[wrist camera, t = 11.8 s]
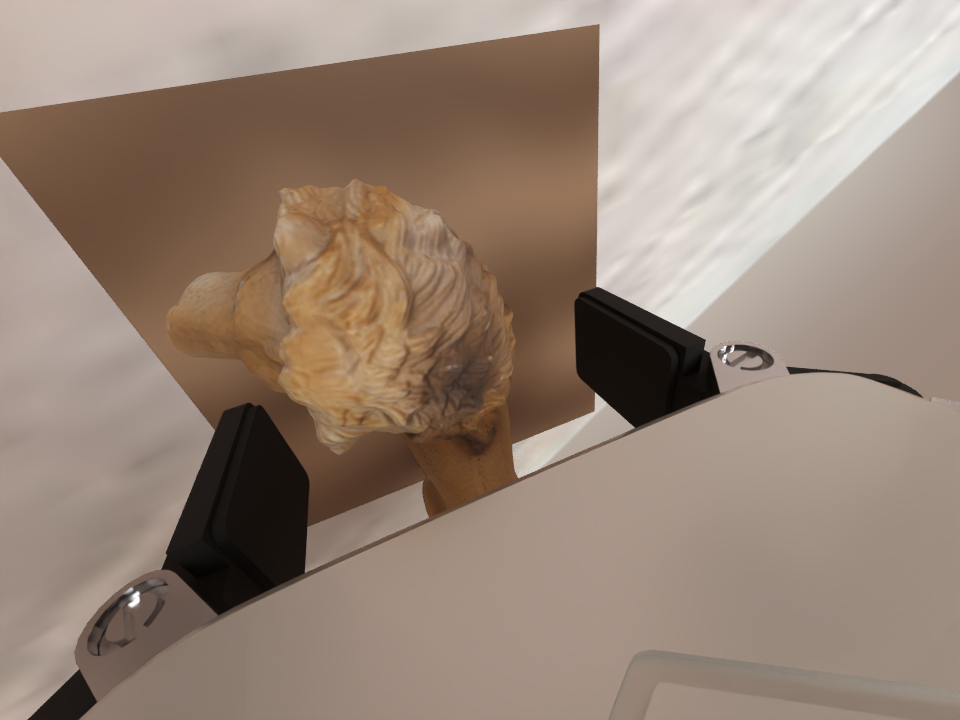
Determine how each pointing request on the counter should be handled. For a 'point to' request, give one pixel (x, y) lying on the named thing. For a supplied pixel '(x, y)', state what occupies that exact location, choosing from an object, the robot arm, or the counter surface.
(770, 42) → the counter surface
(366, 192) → the lion figurine
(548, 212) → the walnut block
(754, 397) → the robot arm
